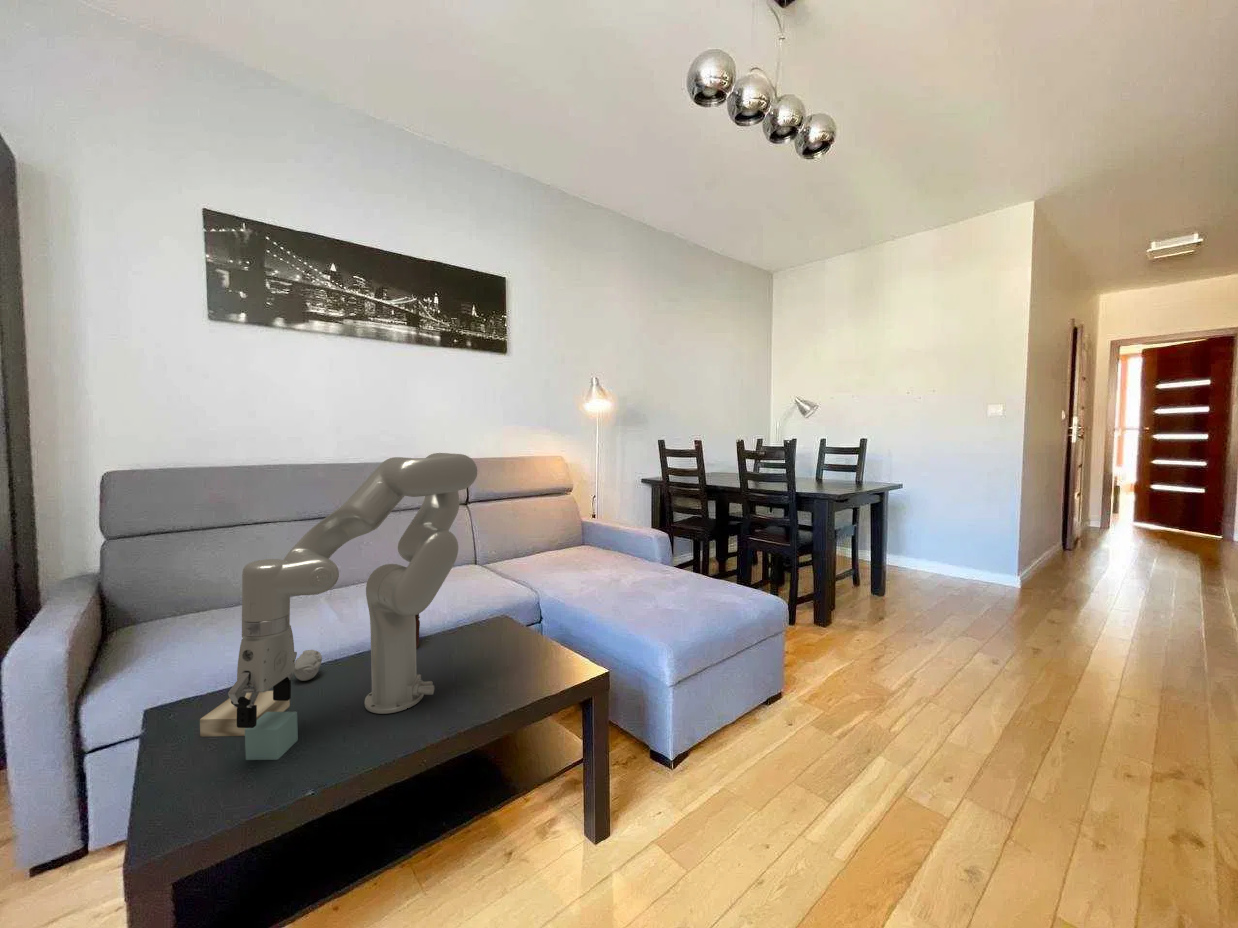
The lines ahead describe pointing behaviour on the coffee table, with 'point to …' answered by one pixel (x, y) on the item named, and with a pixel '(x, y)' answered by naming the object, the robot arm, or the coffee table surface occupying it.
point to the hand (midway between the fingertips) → (265, 712)
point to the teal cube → (271, 736)
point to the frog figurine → (307, 665)
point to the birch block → (225, 715)
